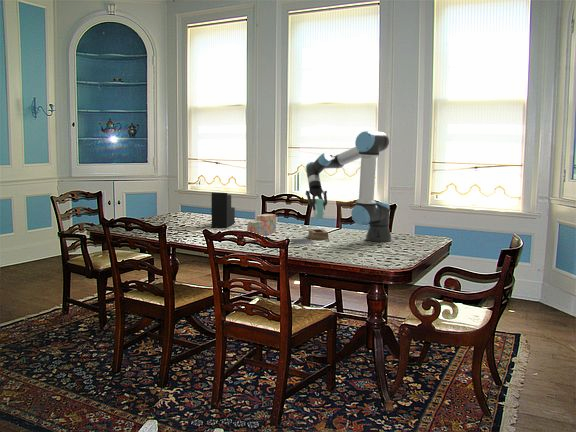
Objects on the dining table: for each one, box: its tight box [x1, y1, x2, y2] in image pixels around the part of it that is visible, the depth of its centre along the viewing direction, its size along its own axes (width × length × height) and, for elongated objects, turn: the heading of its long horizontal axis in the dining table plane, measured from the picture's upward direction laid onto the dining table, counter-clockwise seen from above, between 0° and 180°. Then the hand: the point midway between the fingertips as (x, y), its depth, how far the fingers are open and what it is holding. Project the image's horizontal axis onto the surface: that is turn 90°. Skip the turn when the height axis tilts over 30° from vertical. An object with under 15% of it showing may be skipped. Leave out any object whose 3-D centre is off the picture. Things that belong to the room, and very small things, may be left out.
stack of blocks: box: [246, 213, 277, 237], centre depth 363 cm, size 21×6×12 cm, turn 145°
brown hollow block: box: [307, 228, 330, 241], centre depth 354 cm, size 13×10×4 cm
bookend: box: [210, 192, 236, 229], centre depth 397 cm, size 23×11×24 cm, turn 171°
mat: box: [289, 238, 316, 245], centre depth 342 cm, size 16×12×1 cm
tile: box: [313, 198, 324, 220], centre depth 352 cm, size 8×4×11 cm, turn 10°
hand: (320, 213), depth 349 cm, fingers closed on tile, 3 cm apart
